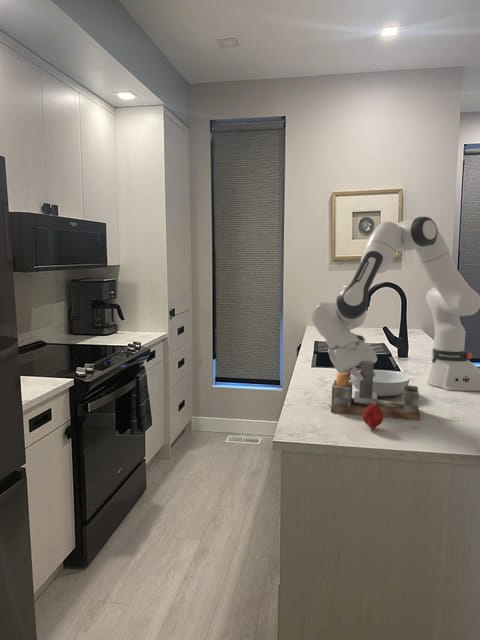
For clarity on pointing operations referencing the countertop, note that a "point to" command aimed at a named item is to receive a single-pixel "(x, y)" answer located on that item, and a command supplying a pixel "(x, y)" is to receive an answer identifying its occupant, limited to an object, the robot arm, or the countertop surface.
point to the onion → (373, 416)
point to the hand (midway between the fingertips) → (368, 378)
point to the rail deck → (404, 410)
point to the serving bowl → (385, 383)
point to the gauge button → (342, 379)
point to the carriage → (366, 384)
